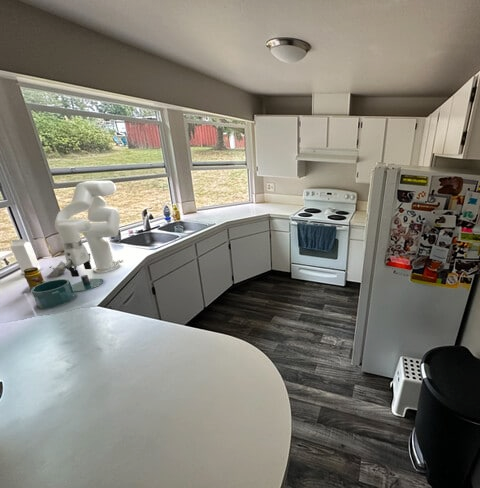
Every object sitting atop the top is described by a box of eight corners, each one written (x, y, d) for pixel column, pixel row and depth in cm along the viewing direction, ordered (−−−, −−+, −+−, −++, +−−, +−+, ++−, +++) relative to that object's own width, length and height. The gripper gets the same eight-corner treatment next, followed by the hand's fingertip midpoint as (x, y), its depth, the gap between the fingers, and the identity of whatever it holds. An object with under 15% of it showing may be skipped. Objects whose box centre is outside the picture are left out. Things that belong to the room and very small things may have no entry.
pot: (70, 290, 141) (64, 275, 138) (79, 301, 131) (73, 286, 128) (34, 300, 131) (27, 285, 128) (42, 314, 121) (34, 297, 117)
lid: (99, 277, 156) (96, 268, 153) (107, 284, 148) (104, 275, 145) (67, 287, 144) (63, 276, 142) (74, 295, 136) (70, 284, 134)
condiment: (44, 288, 142) (37, 270, 138) (23, 293, 137) (14, 273, 133) (48, 283, 148) (41, 265, 143) (28, 287, 143) (19, 268, 139)
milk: (35, 272, 159) (22, 240, 152) (22, 274, 157) (8, 241, 149) (41, 268, 164) (28, 237, 157) (28, 270, 162) (14, 238, 154)
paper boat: (54, 277, 153) (37, 273, 151) (60, 281, 158) (44, 278, 157) (69, 260, 160) (53, 257, 159) (74, 265, 165) (59, 262, 164)
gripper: (68, 249, 129) (78, 279, 135) (91, 239, 145) (100, 266, 151) (51, 250, 128) (62, 280, 134) (77, 239, 144) (85, 266, 150)
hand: (82, 272), depth 142 cm, fingers open, 9 cm apart
